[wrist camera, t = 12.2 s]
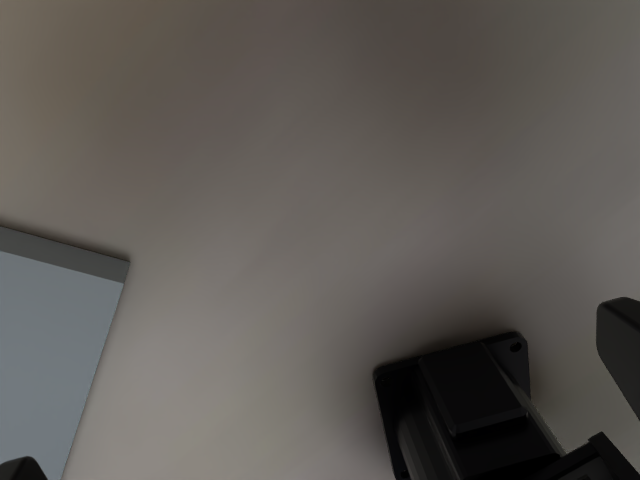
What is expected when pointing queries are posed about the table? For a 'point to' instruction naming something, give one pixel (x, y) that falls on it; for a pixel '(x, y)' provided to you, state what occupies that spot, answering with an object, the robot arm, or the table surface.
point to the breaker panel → (50, 341)
